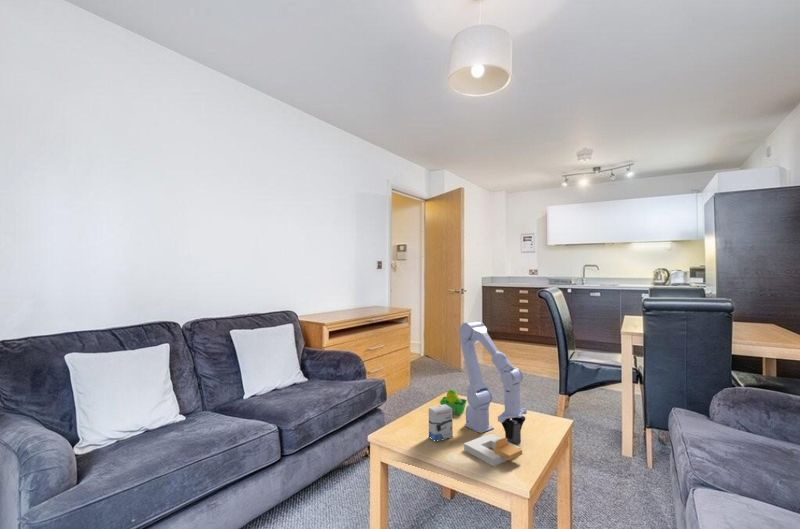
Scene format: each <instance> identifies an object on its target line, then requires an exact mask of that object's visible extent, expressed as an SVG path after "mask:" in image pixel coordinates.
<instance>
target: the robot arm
mask: <svg viewBox="0 0 800 529" xmlns="http://www.w3.org/2000/svg"><path fill="white" fill-rule="evenodd" d="M458 334H459V336H460V339H459V340H460V347H461V351H462V356H463V360H464V364H465V368H466V372H467V376H468V381H469V386H468V387H467V388H466V393H467V394H466V396H467V397H466V400H467V401H466V402H467V406H465V424H464V426H465V427H466V428H469V429H471V430H473V431H475V432H477V433H480V434H482V433H485V432H488V431H491V430H493V429H495V428H494V426H492V425H490V407H491V406H490V405H491V403H492V401H493V394H492V392H491V390H490V389H489V385H488V384H487V383H486V382H484V381H483V376H482V372H481V368H480V364H479V359H478V356H477V353H476V348H475V343H476V342H477V341H478V342H479V343H480V344H482V346H483V347H484V349H485V350H486V351H487V352H488V354H490V356H491V363H492V364H493V365H494V367H495V368H496V369H497V371H498V373H499V374H500V380H501V382H502V384H503V389H504V390H503V391H504V411H503V412H502V413H500V414H499V415H498V416H497V422H500V424H502V427H503V431H504V433H505V434H506V437H507V438H509V439H512V432H513V426H514V423H515V422H512V421H511V420H515V421H517V423H520V428H521V429H522V428H523V424H524V423H525V421H526V416H524V415H526V414H527V413H528V412H527V411H528V410H527V408H525V407H521V391H520V390H521V389H520V387H521V386H520V385H521V384H520V383H521V382H523V378H524V377H523V373H522V371H521V370H520V369H519V368H518V367H515V365H513V364H512V363H511V361H510V360H509V359H508V355H506V354H505V353H504V352H501V351H499V350H498V348H497V346H496V345H495V343H494V342H493V339H492V338H491V336H490V335H489V333H488V328H487V327H486V325H485V323H483V322H482V321H481V320H476V321H470V322H462V324H461V325H460V326H459V327H458ZM505 434H504V435H505Z"/></svg>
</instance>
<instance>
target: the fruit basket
mask: <svg viewBox="0 0 800 529" xmlns="http://www.w3.org/2000/svg"><path fill="white" fill-rule="evenodd" d="M467 402H468V401H467V399H465V398H463V399H462V398H459V395H458V393H457V392H456V391H455V390H454V389H452V388H450V389H448V390H447V392H446V396H443V397H442V398H441V399H440V400H439V404H440V405H444V404H446V405H448V406H449V407H451V408H452V414H453V413H457V414H456V415H460V414H461V415H463V413H464V412H465V410H466V404H467Z"/></svg>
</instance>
